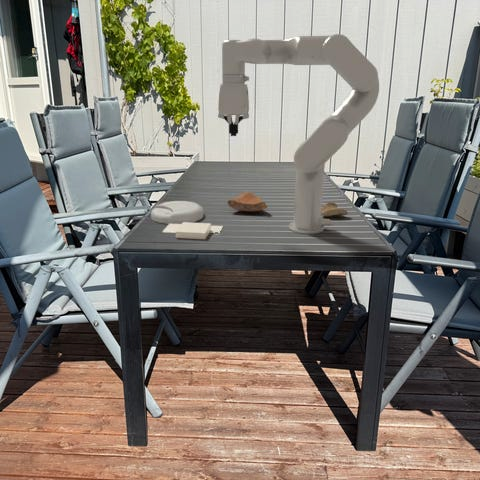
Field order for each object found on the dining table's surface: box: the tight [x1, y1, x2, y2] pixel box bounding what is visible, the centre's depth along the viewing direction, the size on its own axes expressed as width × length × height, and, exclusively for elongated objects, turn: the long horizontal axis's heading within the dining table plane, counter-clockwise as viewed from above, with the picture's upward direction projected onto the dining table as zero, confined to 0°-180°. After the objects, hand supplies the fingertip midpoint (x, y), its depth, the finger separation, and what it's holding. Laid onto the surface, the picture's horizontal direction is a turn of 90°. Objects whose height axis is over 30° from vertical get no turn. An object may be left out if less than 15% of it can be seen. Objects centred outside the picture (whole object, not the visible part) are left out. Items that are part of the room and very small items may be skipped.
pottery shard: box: [321, 202, 349, 217], centre depth 181 cm, size 11×4×10 cm
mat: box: [162, 223, 224, 234], centre depth 158 cm, size 20×20×1 cm
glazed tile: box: [175, 222, 212, 240], centre depth 157 cm, size 2×10×10 cm
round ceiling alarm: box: [150, 200, 205, 225], centre depth 178 cm, size 25×25×6 cm
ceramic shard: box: [227, 190, 268, 212], centre depth 187 cm, size 15×6×15 cm
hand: (233, 135), depth 159 cm, fingers closed
